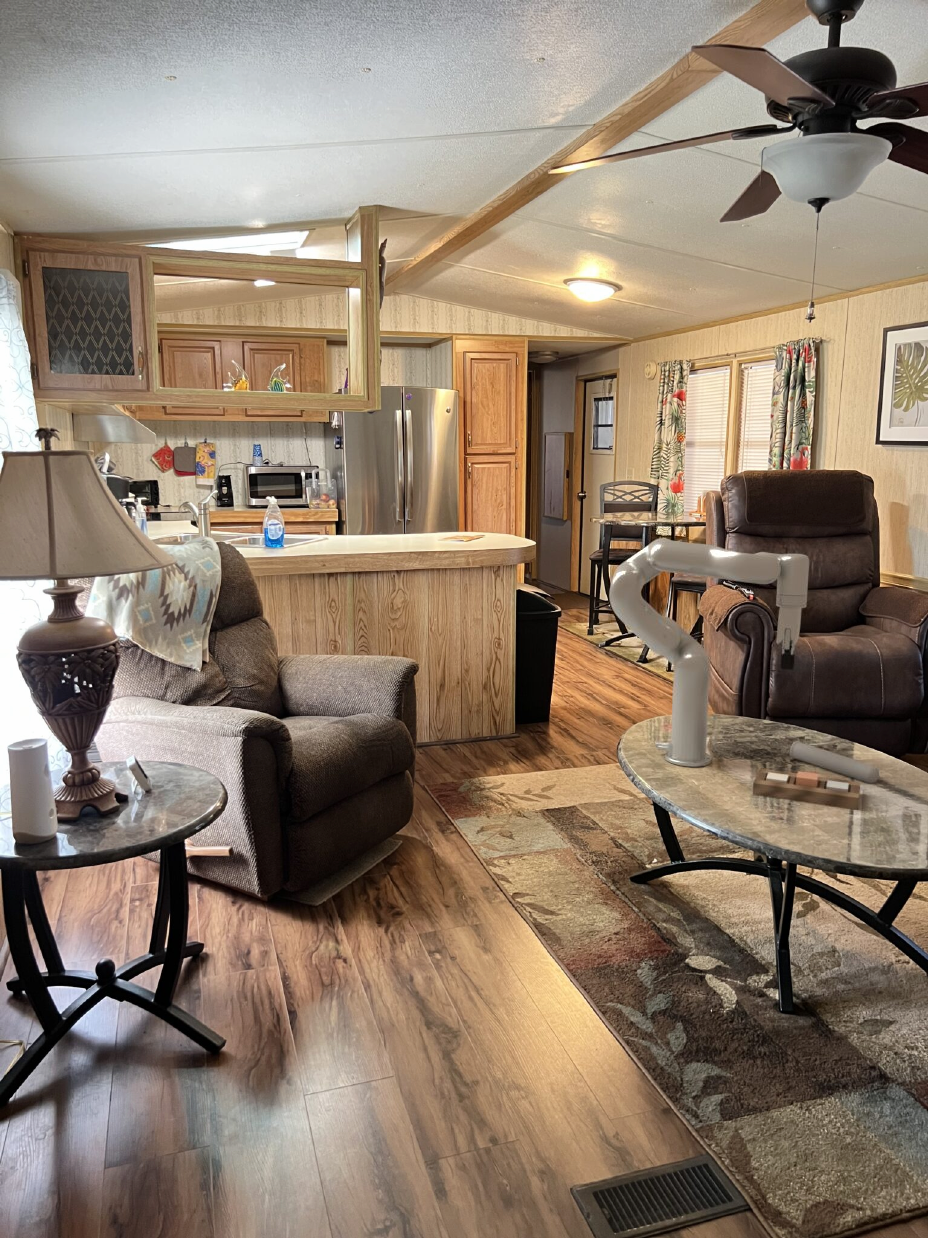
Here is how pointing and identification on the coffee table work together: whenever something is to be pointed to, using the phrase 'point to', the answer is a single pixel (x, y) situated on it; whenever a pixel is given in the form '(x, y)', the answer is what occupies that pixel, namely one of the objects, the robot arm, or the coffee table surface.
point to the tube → (834, 762)
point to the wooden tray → (807, 790)
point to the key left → (777, 778)
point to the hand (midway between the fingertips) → (787, 668)
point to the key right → (837, 786)
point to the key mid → (807, 779)
